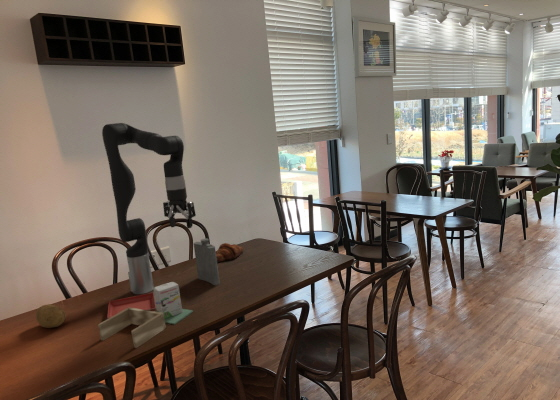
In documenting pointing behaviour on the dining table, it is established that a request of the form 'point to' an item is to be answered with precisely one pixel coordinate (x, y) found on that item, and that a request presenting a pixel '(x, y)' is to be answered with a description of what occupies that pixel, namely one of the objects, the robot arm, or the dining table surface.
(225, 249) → the pastry
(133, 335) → the beige u-shaped bracket
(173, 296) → the ink box
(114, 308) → the plant saucer
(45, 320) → the potato
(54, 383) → the dining table surface
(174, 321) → the mat
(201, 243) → the hip flask
